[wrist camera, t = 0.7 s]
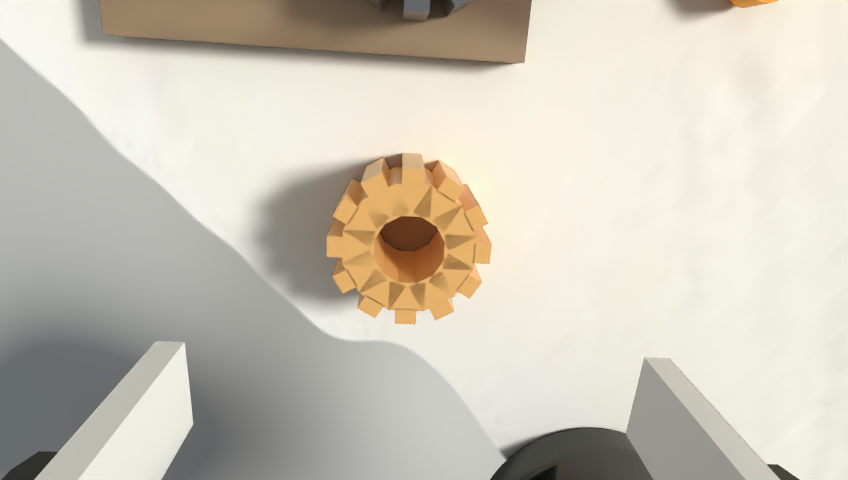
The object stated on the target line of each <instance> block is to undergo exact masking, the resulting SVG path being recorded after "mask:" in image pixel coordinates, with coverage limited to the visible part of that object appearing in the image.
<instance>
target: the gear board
mask: <svg viewBox="0 0 848 480" xmlns="http://www.w3.org/2000/svg"><path fill="white" fill-rule="evenodd" d="M99 2H100V10H101V18H102V26H103V34H107V35H115V36H122V37H133V38H148V39H163V40H178V41H192V42H207V43H222V44H237V45H251V46H266V47H281V48H295V49H310V50H325V51H340V52H354V53H369V54H384V55H398V56H413V57H428V58H443V59H457V60H472V61H487V62H502V63H524V61H525V53H526V44H527V36H528V27H529V19H530V10H531V2H532V0H473V1H472V2H471V3H470V4H469V5H468V6H467V7H465V8H463V9H461V10H459V11H457V12H456V13H454V14H452V15H450V16H448V17H447V16H446V14H445V12H444V10H443V7H442V5H441V3H440V0H439V1H436V2H431V3H430V12H429V15H428V17H427V19H426V21H425V22H421V21H407V20H403V12H404V1H400V0H389V1H388V3H387V4H386V6H385V8H384V10H383V11H382V12H381V11H379V10H378V9H376V8H375V7H374V6H372V5H371V4H369V3H368V2H367V1H365V0H99Z"/></svg>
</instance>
